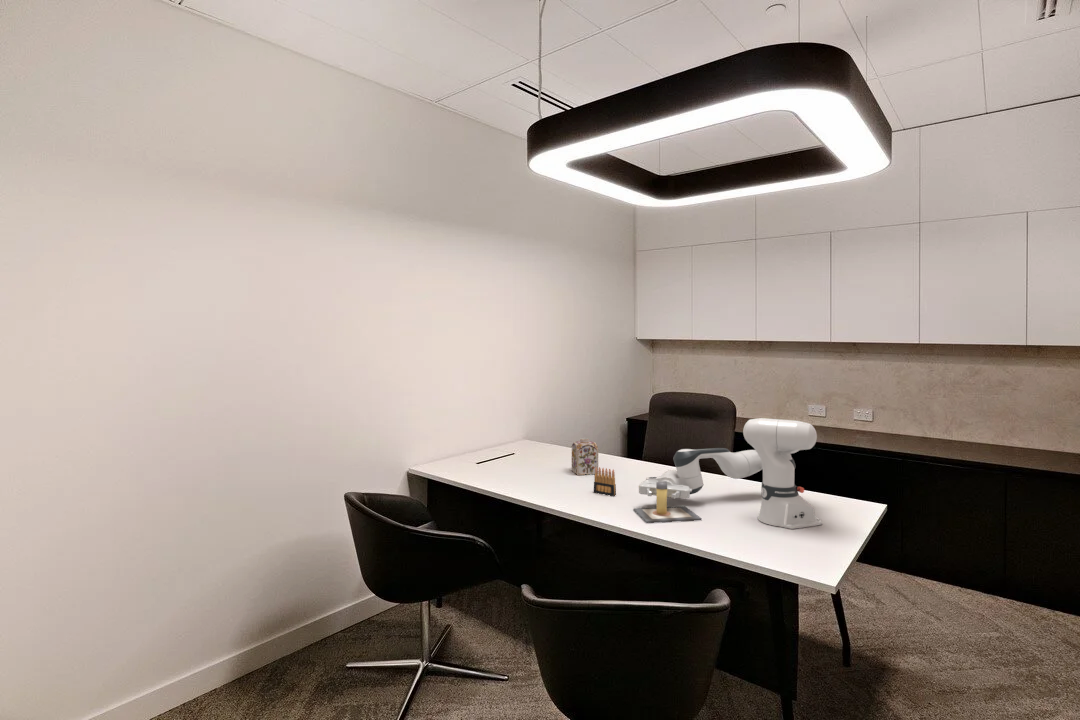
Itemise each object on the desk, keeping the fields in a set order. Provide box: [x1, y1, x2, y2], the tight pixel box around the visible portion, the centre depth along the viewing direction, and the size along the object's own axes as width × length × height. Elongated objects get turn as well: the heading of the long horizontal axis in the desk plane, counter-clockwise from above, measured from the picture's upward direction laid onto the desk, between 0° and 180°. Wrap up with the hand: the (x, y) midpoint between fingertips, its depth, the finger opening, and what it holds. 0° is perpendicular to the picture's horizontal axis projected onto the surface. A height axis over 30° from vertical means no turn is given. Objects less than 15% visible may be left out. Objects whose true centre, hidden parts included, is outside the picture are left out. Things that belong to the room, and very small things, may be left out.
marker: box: [656, 482, 668, 515], centre depth 217 cm, size 4×4×12 cm
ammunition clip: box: [593, 466, 617, 497], centre depth 248 cm, size 11×2×12 cm, turn 53°
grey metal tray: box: [632, 505, 702, 524], centre depth 218 cm, size 22×16×1 cm
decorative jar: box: [571, 437, 599, 476], centre depth 288 cm, size 12×12×18 cm
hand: (661, 495), depth 216 cm, fingers open, 8 cm apart
